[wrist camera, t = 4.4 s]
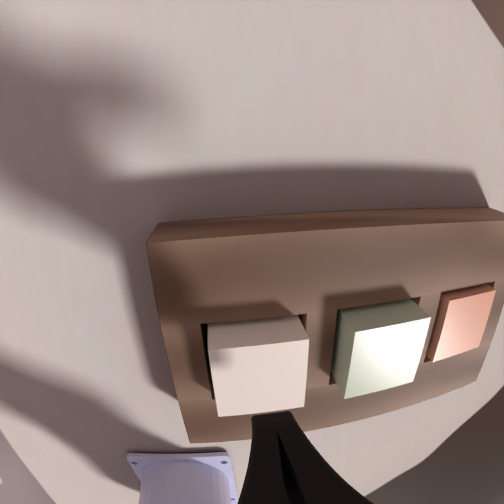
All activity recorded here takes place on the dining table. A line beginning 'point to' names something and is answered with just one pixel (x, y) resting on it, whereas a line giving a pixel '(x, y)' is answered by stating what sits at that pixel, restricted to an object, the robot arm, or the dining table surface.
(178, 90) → the dining table surface
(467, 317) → the terracotta button
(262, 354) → the cream button
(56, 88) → the dining table surface
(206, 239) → the button panel
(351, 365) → the sage button
